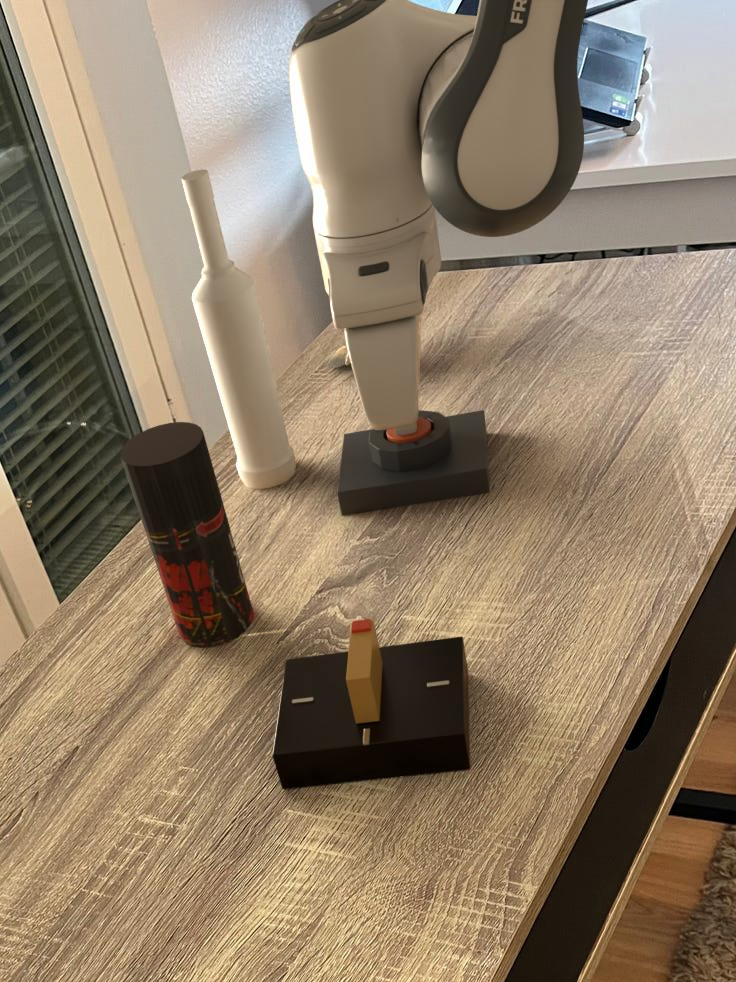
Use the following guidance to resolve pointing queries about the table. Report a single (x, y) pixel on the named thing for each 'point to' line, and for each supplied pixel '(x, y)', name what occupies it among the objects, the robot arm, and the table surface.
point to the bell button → (421, 432)
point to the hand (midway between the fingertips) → (407, 426)
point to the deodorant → (188, 532)
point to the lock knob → (364, 671)
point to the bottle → (238, 349)
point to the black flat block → (381, 744)
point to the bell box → (414, 465)
